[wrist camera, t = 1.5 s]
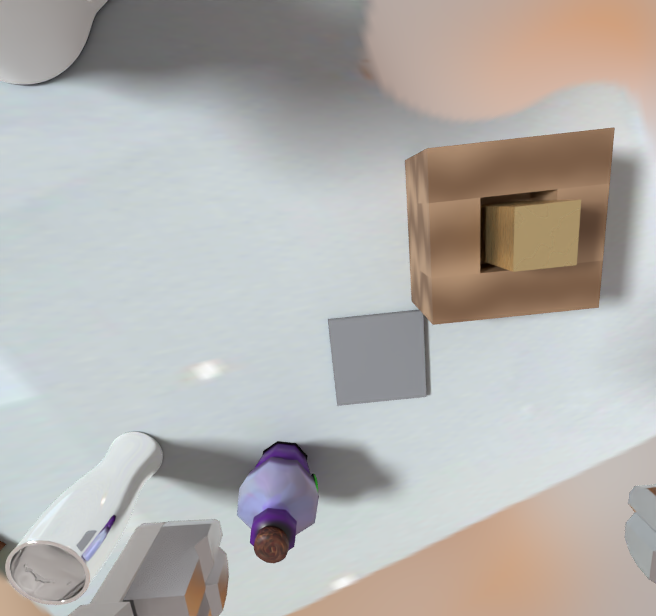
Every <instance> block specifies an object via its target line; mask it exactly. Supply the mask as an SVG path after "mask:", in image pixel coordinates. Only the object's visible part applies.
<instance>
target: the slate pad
mask: <svg viewBox="0 0 656 616" xmlns="http://www.w3.org/2000/svg"><path fill="white" fill-rule="evenodd" d="M328 325H329V334H330V343H331V353H332V362H333V371H334V380H335V389H336V398H337V406H339V405H349V404H359V403H369V402H379V401H389V400H399V399H409V398H419V397H427V396H426V371H425V346H424V321H423V313H422V312H421V311H420V310H412V311H402V312H392V313H383V314H373V315H364V316H354V317H345V318H335V319H328Z"/></svg>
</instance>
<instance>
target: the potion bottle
mask: <svg viewBox="0 0 656 616" xmlns="http://www.w3.org/2000/svg"><path fill="white" fill-rule="evenodd" d="M318 498H319V495H318V483H317V478H316V475H315V474H312V475H310V471H309V468H308V464H307V455H306V454H305V453H304V452H303V451H302V450H301V448H300V447H299V446H298V445H297V444H296V443H288V442H278V441H277V442H276V443H274V444H273V445H272V446H270V447H269V448H267V449H266V450H264V451H263V456H262V457H261V459H260V460H259V462H258V464H257V465H256V467H255V468H254V469H253V470H251V471H250V473H249V474H248V476H247V477H246V479H245V480H244V482H243V484H242V485H241V487H240V488H239V499H238V510H237V516H238V517H239V518H240V519H241V520H242V521H243V522H244V523H245V524H246V525H248V526H249V527H250V528H251V537H250V543H251V544H252V545H253V546H254V551H255V553H256V555H257V556H258V557H259V558H260V559H261V560H263V561H265V562H267V563H276V562H280V561H281V560H283V559H284V558H285V557H286V555H287V552H288V550H290V549H291V548H293V547H294V543H295V536H296V535H297V534H298V533H300V532H301V531H303V530H304V529H306V528H308V527H309V526H311V525H312V524H314V523H315V518H316V511H317V505H318Z"/></svg>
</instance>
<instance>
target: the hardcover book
mask: <svg viewBox="0 0 656 616" xmlns="http://www.w3.org/2000/svg"><path fill="white" fill-rule="evenodd" d="M5 545H6V544H5V543H3V542H1V541H0V551H1V550H2V549H3V548H4V546H5Z"/></svg>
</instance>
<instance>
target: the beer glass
mask: <svg viewBox="0 0 656 616" xmlns="http://www.w3.org/2000/svg"><path fill="white" fill-rule="evenodd" d="M162 460H163V453H162V449H161V447H160V445H159V444H158V443H157V441H156V440H155V439H153V438H152V437H151V436H149V435H147V434H144V433H141V432H127V433H124V434H121V435H120V436H118V437H117V438H116V439H115V440H114V441H113V442H112V444H111V445H110V447H109V449H108V451H107V453H106V455H105V456H104V458H103V459H102V460H101V461H100V462H99V463H98V464H97V465H96V466H95V467H94V468H93V469H91V470H90V471H89V472H87V473H86V474H85V475H84V476H82V477H81V478H80V479H79V480H77V481H76V482H75V483H73V484H72V485H71V486H70V487H69V488H67V489H66V490H65V491H64V492H63V493H62V494H61V495H59V496H58V497H57V498H56V499H55V500H54V501H53V502H52V503H51V504H50V505H49V507H48V508H47V509H46V510H45V511H44V512H43V513H42V514H41V516H40V517H39V518H38V519H37V520H36V521H35V523H34V524H33V525H32V526H31V528H30V529H29V530H28V531H27V533H26V534H25V535H24V537H23V538H22V539H21V541H20V542H19V543H18V544H17V546H16V547H15V548H14V549H13V550H12V551H11V552H10V554H9V555H8V557H7V559H6V563H5V571H6V575H7V578H8V580H9V582H10V583H11V585H12V586H13V587H14V588H15V589H16V590H17V591H18V592H19V593H20V594H22V595H23V596H25V597H26V598H28V599H30V600H33V601H35V602H38V603H42V604H48V605H61V604H66V603H70V602H72V601H75V600H76V599H78V598H79V597H81V596H82V595H83V594H84V593H85V592H86V590H87V588H88V586H89V585H90V584H91V582H92V581H93V579H94V578H95V577H96V575H97V574H98V573H99V571H100V570H101V568H102V567H103V566H104V564H105V563H106V561H107V560H108V558H109V557H110V555H111V554H112V552H113V551H114V549H115V547H116V546H117V544H118V542H119V540H120V539H121V537H122V535H123V533H124V531H125V529H126V527H127V525H128V522H129V520H130V518H131V515H132V513H133V510H134V507H135V505H136V502H137V499H138V497H139V494H140V492H141V490H142V488H143V486H144V485H145V483H146V482H147V481H148V480H149V479H150V478H151V477H152V476H153V475H154V474H155V472H156V471H157V470H158V469H159V468H160V466H161V464H162Z"/></svg>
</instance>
